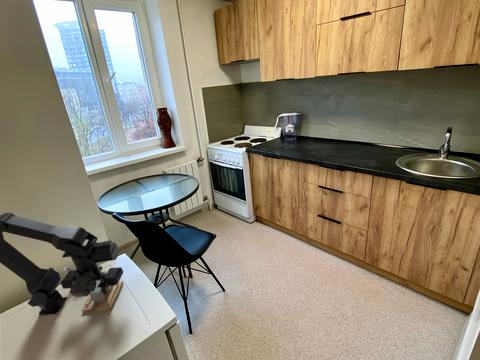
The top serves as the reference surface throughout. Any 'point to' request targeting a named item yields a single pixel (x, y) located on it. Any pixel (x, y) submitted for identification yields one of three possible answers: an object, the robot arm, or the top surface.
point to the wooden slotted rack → (107, 302)
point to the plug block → (98, 294)
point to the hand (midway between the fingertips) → (100, 293)
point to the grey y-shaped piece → (67, 270)
